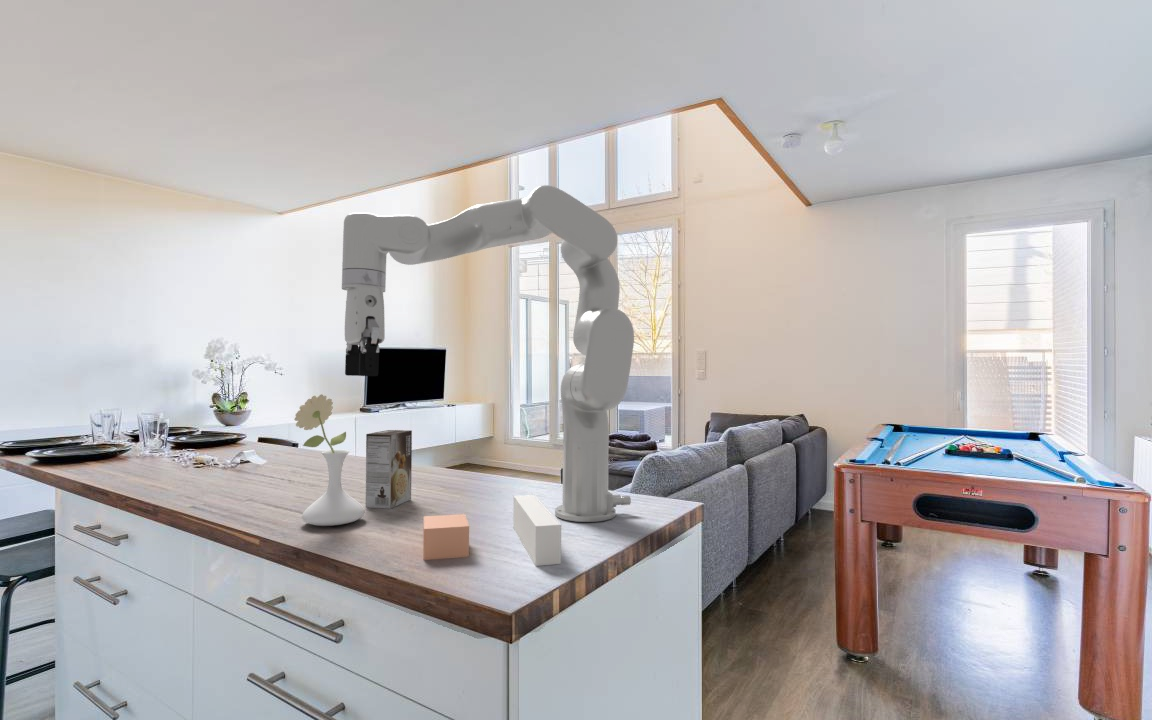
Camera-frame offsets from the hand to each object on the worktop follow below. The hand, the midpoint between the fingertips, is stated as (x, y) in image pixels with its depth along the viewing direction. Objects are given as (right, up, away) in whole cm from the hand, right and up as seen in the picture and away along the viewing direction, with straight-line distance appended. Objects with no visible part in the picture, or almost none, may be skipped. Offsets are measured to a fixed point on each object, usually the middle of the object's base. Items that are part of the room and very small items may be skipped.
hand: (361, 375), depth 102 cm
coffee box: (-3, -30, +23) cm, 38 cm away
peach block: (+18, -29, -10) cm, 35 cm away
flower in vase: (-8, -29, +6) cm, 31 cm away
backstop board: (+32, -29, -6) cm, 43 cm away
